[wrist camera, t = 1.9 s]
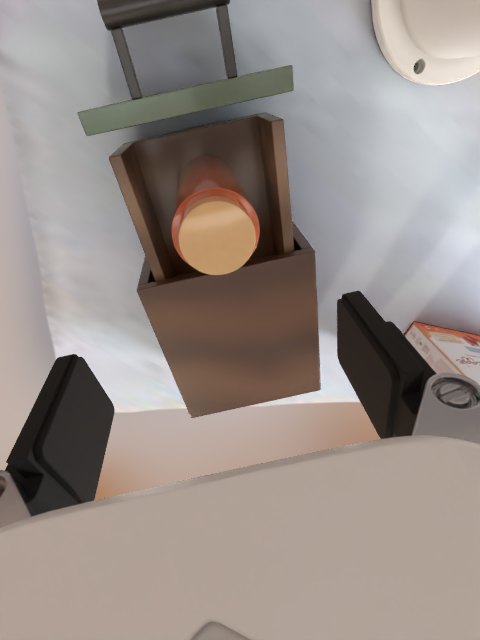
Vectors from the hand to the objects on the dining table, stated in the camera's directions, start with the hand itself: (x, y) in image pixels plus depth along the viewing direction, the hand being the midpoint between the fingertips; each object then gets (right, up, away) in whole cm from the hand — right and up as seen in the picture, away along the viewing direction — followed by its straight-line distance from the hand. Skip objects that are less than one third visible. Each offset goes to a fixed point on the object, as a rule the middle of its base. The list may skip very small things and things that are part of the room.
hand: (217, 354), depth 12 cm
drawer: (-2, +14, +14) cm, 20 cm away
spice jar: (-2, +12, +15) cm, 19 cm away
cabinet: (0, +3, +23) cm, 24 cm away
